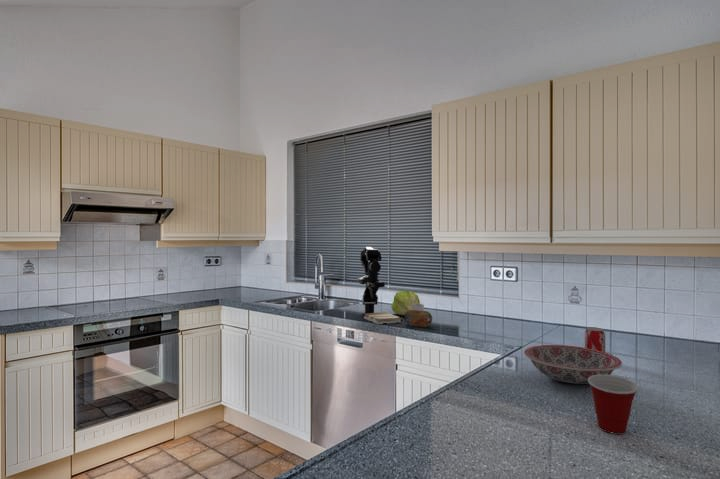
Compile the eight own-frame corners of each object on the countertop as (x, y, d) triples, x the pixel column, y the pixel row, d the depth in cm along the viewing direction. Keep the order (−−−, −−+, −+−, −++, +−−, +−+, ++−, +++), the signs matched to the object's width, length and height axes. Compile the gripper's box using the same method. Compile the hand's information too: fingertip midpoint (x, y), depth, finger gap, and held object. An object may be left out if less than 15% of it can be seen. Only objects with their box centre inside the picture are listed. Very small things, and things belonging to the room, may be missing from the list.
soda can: (597, 363, 163) (597, 331, 163) (580, 358, 169) (580, 327, 169) (609, 360, 166) (609, 329, 166) (592, 356, 172) (592, 326, 172)
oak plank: (368, 317, 246) (368, 314, 246) (388, 315, 252) (388, 313, 252) (378, 322, 234) (378, 319, 234) (399, 320, 239) (399, 317, 239)
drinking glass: (419, 324, 233) (419, 306, 233) (409, 322, 238) (409, 304, 237) (426, 322, 238) (426, 304, 238) (416, 321, 243) (416, 303, 242)
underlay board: (364, 318, 250) (364, 313, 250) (385, 316, 256) (385, 312, 256) (377, 324, 234) (377, 319, 234) (400, 322, 239) (400, 317, 239)
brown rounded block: (403, 325, 232) (403, 309, 232) (406, 324, 235) (406, 308, 235) (430, 328, 225) (431, 311, 225) (432, 326, 228) (432, 310, 228)
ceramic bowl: (620, 403, 124) (621, 375, 124) (515, 384, 140) (515, 359, 140) (622, 375, 149) (622, 352, 149) (532, 362, 164) (532, 341, 164)
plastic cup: (590, 435, 104) (590, 385, 104) (584, 417, 114) (585, 372, 114) (643, 443, 100) (643, 391, 100) (632, 424, 110) (632, 377, 110)
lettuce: (394, 321, 247) (398, 296, 245) (388, 308, 271) (392, 286, 270) (423, 325, 248) (427, 301, 247) (415, 312, 273) (419, 290, 271)
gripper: (353, 270, 254) (353, 296, 254) (367, 272, 237) (367, 301, 237) (370, 269, 258) (370, 295, 259) (385, 272, 241) (385, 300, 242)
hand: (372, 298), depth 249 cm, fingers closed
